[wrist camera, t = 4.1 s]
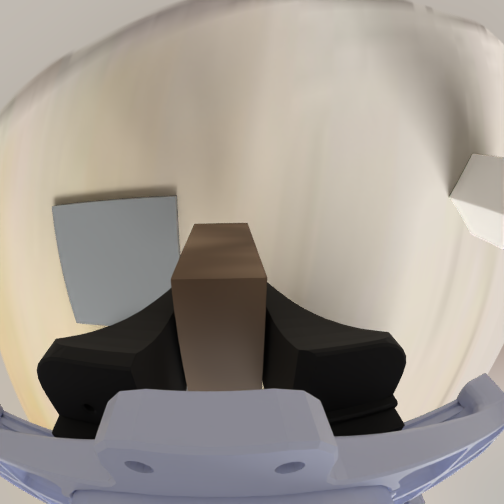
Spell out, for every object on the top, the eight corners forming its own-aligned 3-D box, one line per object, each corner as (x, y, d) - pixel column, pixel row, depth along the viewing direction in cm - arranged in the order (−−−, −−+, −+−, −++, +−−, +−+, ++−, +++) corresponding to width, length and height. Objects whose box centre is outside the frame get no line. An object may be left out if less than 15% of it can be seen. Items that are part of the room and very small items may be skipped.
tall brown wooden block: (247, 223, 12) (267, 277, 7) (246, 332, 14) (259, 421, 9) (194, 223, 12) (170, 279, 7) (202, 333, 14) (195, 422, 8)
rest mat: (176, 195, 17) (175, 196, 17) (186, 324, 21) (186, 328, 20) (55, 205, 16) (51, 206, 16) (79, 319, 20) (76, 322, 19)
